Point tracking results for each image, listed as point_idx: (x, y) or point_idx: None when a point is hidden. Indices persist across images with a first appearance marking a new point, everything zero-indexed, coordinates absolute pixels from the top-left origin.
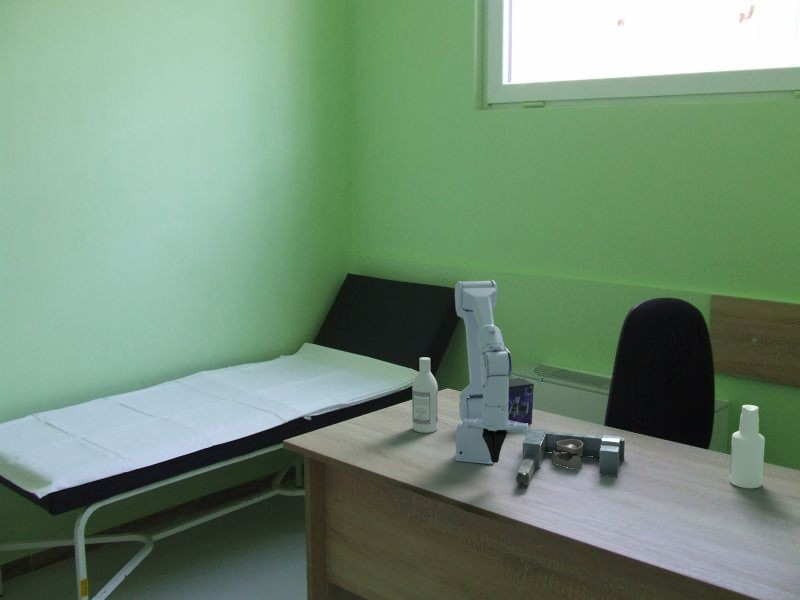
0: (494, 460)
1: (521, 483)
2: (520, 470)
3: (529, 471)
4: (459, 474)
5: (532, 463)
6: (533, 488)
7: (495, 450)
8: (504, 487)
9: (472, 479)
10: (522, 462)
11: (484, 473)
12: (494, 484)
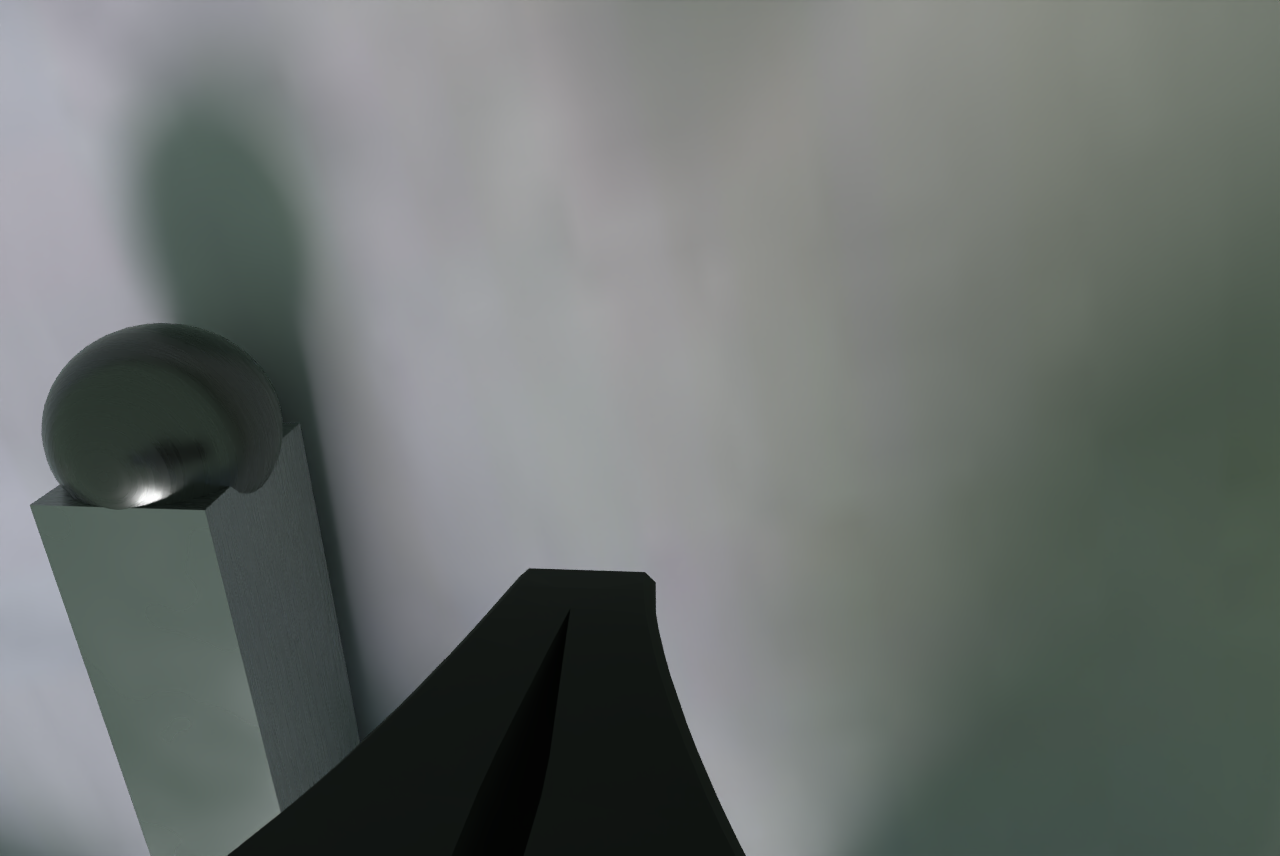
0: (572, 590)
1: (162, 323)
2: (193, 583)
3: (75, 598)
4: (1168, 605)
5: (146, 839)
6: None
7: (464, 755)
8: (472, 333)
9: (967, 489)
10: None
11: (827, 693)
12: (631, 398)
